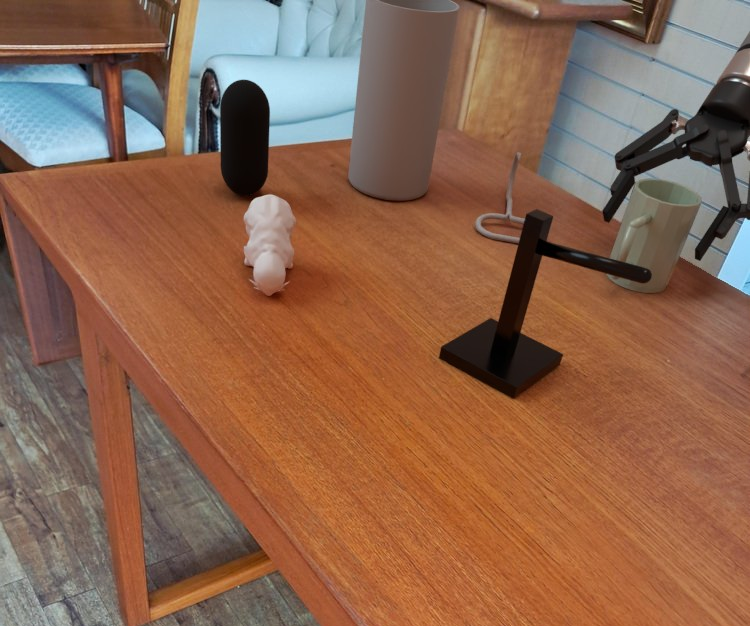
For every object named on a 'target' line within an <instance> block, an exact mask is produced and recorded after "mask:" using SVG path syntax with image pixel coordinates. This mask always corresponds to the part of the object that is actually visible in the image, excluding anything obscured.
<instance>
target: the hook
mask: <svg viewBox="0 0 750 626" xmlns="http://www.w3.org/2000/svg"><path fill="white" fill-rule="evenodd" d="M521 157H522V153H521V152H520V151H517V152H515V155H514V157H513V160H512V166H511V168H510V174H509V177H508V178H509V179H508V184H507V188H506V194H505V202H506V212H505V214H503V213H496V212H490V213H489V212H488V213H484V214H481V215H479V216H478V217H477V218H476V220H475V223H474V225H475V229H476V230H477V232H479V234H480V235H482V236H484V237H486V238H489V239H491V240H497V241H502V242H505V243H513V244H517V245H518V244H519V240H520V237H517V236H512V235H505V234H501V233H494V232H492V231H489V230H487V229H485V227H483V226H482V222H484V221H487V220H499V221H506V220H507V219H508V220H509V221H510V222H512V223H516V224H520V225H522V226H523V225H524V221H525V218H523V217H518V216H515V215H513V202H514V201H513V198H512V194H513V189H514V181H515V179H516V173H517V170H518V165H519V162H520V159H521Z"/></svg>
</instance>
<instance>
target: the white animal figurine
mask: <svg viewBox="0 0 750 626" xmlns="http://www.w3.org/2000/svg"><path fill="white" fill-rule="evenodd" d="M243 223H244V224H245V232H246V234H247V237H248V238H249V239H248V241H247V243H246V245H244V246H243V254H244V257H245V258H244V260H243V261H244V262H243V263H244V265H245V266H246V267H253V270H252V275H253V279H250V278H248V277H247V279H248V281H249V282H250V283H252V285H253V286H254V287H253V286H252V287H253V289H255V290H258V291H260V292H262V293H264V294H265V296H267V297H271V296H272V295H274V294H275V293H276V292H283V291H285V289H284V288H285V287H286V286H287V285H288V284H289V283H290V282H291V280H289V281H287V282H286V276H287V275H286V269H287V268H288V269H290V270H291V269H292V268H293V266H294V264H293V261H294V257H295V249H294V247H293V245H292V243H291V239H292V236H293V234H294V227H296V225H297V220H296V217H295V215H294V214H293V211H292V208H291V205H290V204H289V202H288V201H287V200H286V199H283V198H281V197H280V196H277V195H275V194H271V193H269V194H265V195H262V196H258V197H255V198H253V200H251V202H250V203H249V206H248V209H247V210H246V212H245V213H244V216H243ZM288 269H287V270H288Z"/></svg>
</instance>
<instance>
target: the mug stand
mask: <svg viewBox="0 0 750 626" xmlns="http://www.w3.org/2000/svg"><path fill="white" fill-rule="evenodd" d="M524 219H525V221H524V225H523V224H522V229H521V233H520V236H519V238H520V240H519V244H517V247H516V252H515V255H514V260H513V263H512V267H511V271H510V275H509V279H508V283H507V286H506V290H505V294H504V297H503V302H502V306H501V310H500V313H499V317H498V320H496V319H494V318H493V317H489V318H488V319H486V320H485V321H483V322H481V323H480V324H478V325H476V326H474V327H473V328H471V329H470V330H467V331H466V332H464V333H462V334H459V336H456V337H455V338H453V339H452V340H450V341H448V342H447V343H445V344H444V345H441V346H440V350H439V355H438V358H439V359H440V360H441V361H443V362H446V363H447V364H450V365H451V366H453V367H455V368H457V369H458V370H459V371H462V372H464V373H466V374H467V375H469V376H472V378H475V379H476V380H479V381H481V382H482V383H483V384H486V385H488V386H489V387H491V388H493V389H495V390H497V391H498V392H499V393H502V394H504V395H506V396H507V397H510V398H512V399H515V398H516V397H517V396H519V395H520V394H522V393H523V392H525V391H526V390H527V389H528V388H529V389H530V387H531V386H534V384H536V383H537V382H538V381H540V380H541V379H543V378H544V377H546V376H547V375H548V374H550V373H551V372H552V371H553V370H556V369H557V368H558V367H559V366H560V365H561V363H562V360H563V357H564V354H563V353H562V352H560V351H557V350H555V349H554V348H552V347H550V346H548V345H546V344H543V342H541V341H538V340H536V339H533V338H532V337H529V336H528V335H526V334H524V333H522V329H523V325H524V321H525V318H526V315H527V310H528V308H529V304H530V301H531V300H530V299H531V297H532V293H533V290H534V287H535V283H536V279H537V275H538V272H539V269H540V265H541V261H542V259H543V257H546V258H549V259H553V260H556V261H560V262H564V263H567V264H570V265H575V266H578V267H581V268H585V269H588V270H591V271H594V272H595V271H596V272H599V273H603V274H605V275H606V274H610V275H613V276H617V277H620V278H624V279H627V280H631V281H634V282H638V283H642V284H645V283H648V282H649V281H650V280H651V278H652V273H651V271H650V270H649V269H647V268H644V267H640V266H636V265H633V264H629V263H625V262H621V261H618V260H614V259H610V258H609V257H607V256H603V255H599V254H595V253H591V252H589V251H584V250H580V249H577V248H573V247H569V246H566V245H562V244H560V243H559V244H558V243H554V242H551V241H548V237H549V234H550V231H551V227H552V223H553V219H554V215H552V214H551V213H548V212H545V211H543V210H540V209H538V208H536V209H533V210H531V211H529V212H527V213H525V217H524Z"/></svg>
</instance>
